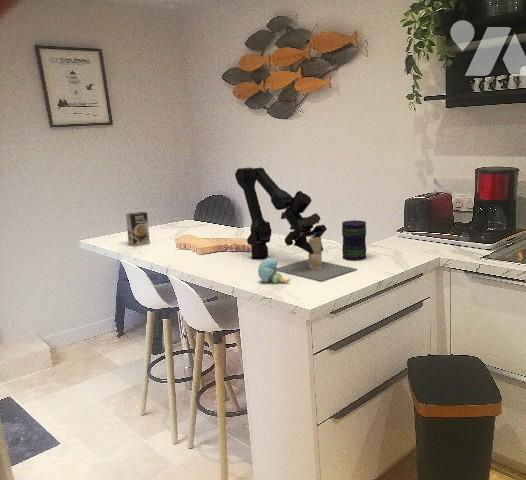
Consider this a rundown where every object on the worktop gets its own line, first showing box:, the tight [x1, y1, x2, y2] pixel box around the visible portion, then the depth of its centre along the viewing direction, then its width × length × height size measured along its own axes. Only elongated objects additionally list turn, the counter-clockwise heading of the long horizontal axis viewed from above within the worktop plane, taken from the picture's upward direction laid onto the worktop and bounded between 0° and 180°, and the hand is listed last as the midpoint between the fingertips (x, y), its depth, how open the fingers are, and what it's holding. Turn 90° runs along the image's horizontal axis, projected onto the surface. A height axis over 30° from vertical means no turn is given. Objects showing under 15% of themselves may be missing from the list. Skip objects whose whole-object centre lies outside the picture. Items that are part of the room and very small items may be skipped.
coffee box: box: [125, 211, 151, 247], centre depth 259 cm, size 9×6×16 cm
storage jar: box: [341, 219, 367, 262], centre depth 210 cm, size 10×10×15 cm
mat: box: [277, 258, 358, 283], centre depth 197 cm, size 25×20×1 cm
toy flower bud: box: [257, 257, 290, 284], centre depth 183 cm, size 7×9×12 cm
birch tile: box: [307, 237, 323, 271], centre depth 195 cm, size 2×5×12 cm, turn 131°
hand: (317, 252), depth 194 cm, fingers closed on birch tile, 5 cm apart
